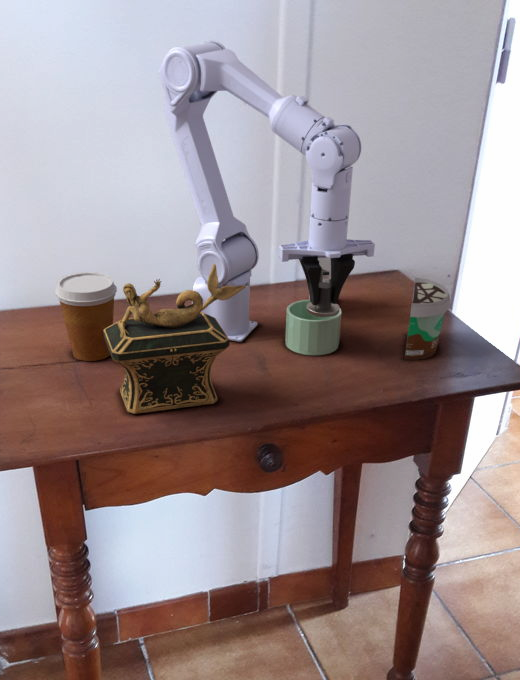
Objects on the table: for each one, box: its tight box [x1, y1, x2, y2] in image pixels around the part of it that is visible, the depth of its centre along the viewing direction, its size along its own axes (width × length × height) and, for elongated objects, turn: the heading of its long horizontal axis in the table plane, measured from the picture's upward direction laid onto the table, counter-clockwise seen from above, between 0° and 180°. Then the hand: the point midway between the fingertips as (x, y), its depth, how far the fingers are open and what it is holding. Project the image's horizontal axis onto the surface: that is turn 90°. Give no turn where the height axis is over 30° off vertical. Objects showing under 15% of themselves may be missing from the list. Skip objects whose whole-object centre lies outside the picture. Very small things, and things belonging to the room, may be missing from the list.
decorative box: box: [103, 263, 246, 415], centre depth 122 cm, size 20×10×20 cm, turn 107°
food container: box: [404, 277, 451, 360], centre depth 140 cm, size 12×6×10 cm, turn 168°
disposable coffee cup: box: [54, 271, 118, 362], centre depth 136 cm, size 10×10×12 cm
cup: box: [284, 299, 342, 356], centre depth 142 cm, size 9×9×6 cm
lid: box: [306, 282, 341, 317], centre depth 134 cm, size 5×5×4 cm
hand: (323, 302), depth 134 cm, fingers closed on lid, 2 cm apart
